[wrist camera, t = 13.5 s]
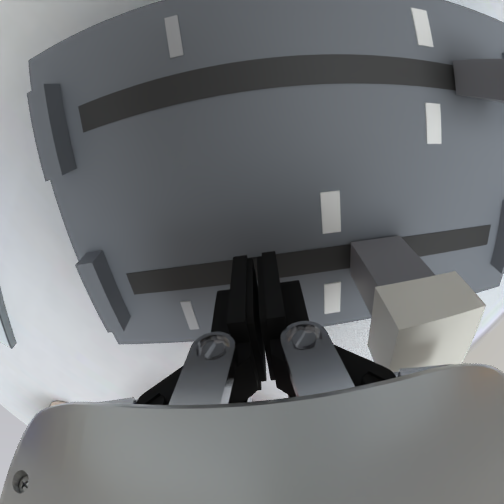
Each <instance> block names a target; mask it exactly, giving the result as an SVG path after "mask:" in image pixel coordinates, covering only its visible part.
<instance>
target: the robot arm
mask: <svg viewBox="0 0 504 504" xmlns="http://www.w3.org/2000/svg"><path fill="white" fill-rule="evenodd" d="M257 275H258V284H257V279H256V273H255V267H254V262H253V258H248V257H247V255H242V256H235V257H233V262H232V272H231V283H230V289H228V290H220V291H217V294H216V300H215V307H214V314H213V320H212V327H211V332H210V333H207V334H204V335H202V336H200V337H199V338H198V339H196V340H195V341H194V343H193V344H192V346H191V348H190V351H189V353H188V356H187V358H186V361H185V363H184V366H182V367H181V368H179V369H178V370H177V371H175V372H174V373H172V374H171V375H170V376H168V377H167V378H165V379H164V380H162V381H161V382H160V383H158V384H157V385H155V386H154V387H152V388H151V389H149V390H148V391H147V392H145V393H144V394H143V395H142V396H140V398H139V399H138V400H135V399H134V397H132V398H125V399H119V400H112V401H104V402H71V403H62V404H58V405H54V406H51V407H48V408H46V409H43V410H41V411H40V412H39V413H37V414H36V415H35V416H34V418H33V419H32V420H31V422H30V423H29V425H28V426H27V428H26V430H25V432H24V434H23V436H22V438H21V440H20V442H19V444H18V447H17V449H16V452H15V454H14V457H13V459H12V462H11V465H10V468H9V471H8V474H7V477H6V481H5V484H4V487H3V491H2V494H1V498H0V504H504V373H503V372H502V371H500V370H499V369H498V368H495V367H493V366H489V365H484V364H446V365H437V366H426V367H414V368H400V369H399V372H392V371H391V370H390V369H388V368H386V367H384V366H382V365H380V364H377V363H375V362H372V361H370V360H368V359H365V358H363V357H361V356H358V355H356V354H354V353H352V352H349V351H347V350H345V349H342V348H340V347H338V346H336V345H333V343H332V341H331V339H330V337H329V335H328V333H327V331H326V330H325V329H324V327H323V326H321V325H320V324H318V323H316V322H312V321H309V318H308V314H307V310H306V305H305V301H304V297H303V293H302V289H301V285H300V282H299V280H294V281H287V282H280V279H279V272H278V266H277V260H276V253H275V251H271V252H264V253H262V256H261V257H257ZM265 352H266V358H267V363H268V368H269V373H270V378H271V380H276V386H277V388H278V389H280V390H282V391H283V392H285V393H287V394H288V398H284V399H276V400H266V401H256V402H251V396H252V395H253V394H254V393H255V392H256V391H257V390H261V381H266V362H265Z"/></svg>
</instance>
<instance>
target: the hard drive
mask: <svg viewBox="0 0 504 504" xmlns="http://www.w3.org/2000/svg"><path fill="white" fill-rule="evenodd" d="M0 343H2V344H3V345H5V346H7V347H9V348H11V349H12V348H13V347H14V346H15V344H16V340H15V337H14V334H13V331H12V328H11V325H10V321H9V318H8V315H7V311H6V308H5V304H4V300H3V296H2V292H1V288H0Z"/></svg>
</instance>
